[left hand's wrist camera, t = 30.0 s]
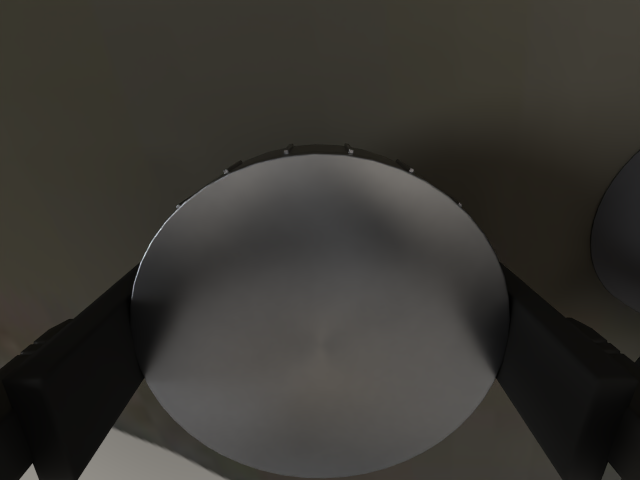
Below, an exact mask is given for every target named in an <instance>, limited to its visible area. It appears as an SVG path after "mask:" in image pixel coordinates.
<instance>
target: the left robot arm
mask: <svg viewBox="0 0 640 480" xmlns="http://www.w3.org/2000/svg"><path fill="white" fill-rule="evenodd" d="M499 263H500V262H499ZM139 265H140V263H139V264H138V265H136V266H135V267H134V268H133V269H132V270H131V271H129V272H128V273H127V274H126V275H125V276H123V277H122V278H121V279H120V280H119V281H118V282H116V283H115V284H114V285H113V286H112V287H111V288H109V289H108V290H107V291H106V292H105V293H103V294H102V295H101V296H100V297H99V298H98V299H96V300H95V301H94V302H93V303H92V304H91V305H89V306H88V307H87V308H86V309H85V310H84V311H82V312H81V313H80V314H79V315H78V316H76V317H75V318H74V319H68V320H66V321H64V322H63V323H61V324H59V325H57V326H55V327H53V328H51V329H49V330H48V331H47V332H45V333H44V334H43V335H42V336H40V337H39V338H38V339H37V340H35V341H34V344H31V345H29V346H28V347H27V348H26V349H24V350H23V351H22V352H21V355H17V356H16V357H15V358H13V359H12V360H11V361H10V362H8V363H7V364H6V365H5V366H3V367H2V368H1V369H0V480H19V479H20V478H21V477H22V476H23V474H24V473H25V472H26V471H27V469H28V468H29V467H30V466H31V464H32V463H33V465H34V468H35V470H36V473H37V475H38V478H39V480H78V478H79V477H80V475H81V474H82V472H83V471H84V469H85V468H86V466H87V465H88V463H89V462H90V460H91V459H92V457H93V455H94V454H95V452H96V451H97V449H98V448H99V446H100V445H101V443H102V442H103V440H104V439H105V437H106V436H107V434H108V433H109V431H110V429H111V428H112V426H113V425H114V423H115V422H116V420H117V419H118V417H119V416H120V414H121V413H122V411H123V410H124V408H125V407H126V405H127V404H128V402H129V400H130V399H131V397H132V396H133V394H134V393H135V391H136V390H137V388H138V387H139V385H140V384H141V382H142V381H143V379H144V378H145V377H144V375H143V373H142V371H141V369H140V366H139V363H138V360H137V357H136V353H135V349H134V344H133V339H132V334H131V329H130V304H131V297H132V291H133V284H134V281H135V278H136V274H137V271H138V268H139ZM500 266H501V269H502V271H503V274H504V277H505V282H506V286H507V291H508V296H509V309H510V325H509V335H508V341H507V346H506V350H505V354H504V358H503V361H502V364H501V366H500V369H499V371H498V373H497V376H496V379H497V380H498V382H499V383H500V385H501V386H502V388H503V389H504V391H505V392H506V394H507V395H508V397H509V399H510V400H511V402H512V403H513V405H514V406H515V408H516V409H517V411H518V412H519V414H520V415H521V417H522V418H523V420H524V421H525V423H526V425H527V426H528V428H529V429H530V431H531V432H532V434H533V435H534V437H535V438H536V440H537V441H538V443H539V444H540V446H541V447H542V449H543V451H544V452H545V454H546V455H547V457H548V458H549V460H550V461H551V463H552V464H553V466H554V467H555V469H556V470H557V472H558V473H559V475H560V476H561V478H562V480H601V479H602V476H603V474H604V471H605V468H606V466H607V463H608V462H609V463H610V465H611V466H612V467H613V468H614V469H615V471H616V472H617V473H618V474H619V476H620V477H621V478H622V479H621V480H640V367H639V366H638V365H637V364H635V363H634V362H633V361H632V360H630V359H629V358H628V357H627V356H626V355H624V354H621V353H620V351H619V350H618V349H617V348H616V347H614V346H613V345H612V344H611V343H607V340H606V339H604V338H603V337H602V336H601V335H599V334H598V333H597V332H596V331H595V330H593V329H592V328H590V327H588V326H586V325H584V324H582V323H581V322H579V321H577V320H575V319H573V318H565V317H564V316H563V315H561V314H560V313H559V312H558V311H557V310H556V309H554V308H553V307H552V306H551V305H550V304H549V303H547V302H546V301H545V300H544V299H543V298H541V297H540V296H539V295H538V294H537V293H536V292H534V291H533V290H532V289H531V288H530V287H529V286H527V285H526V284H525V283H524V282H523V281H521V280H520V279H519V278H518V277H517V276H516V275H514V274H513V273H512V272H511V271H510V270H509V269H507V268H506V267H505V266H504V265H503V264H502V263H500Z"/></svg>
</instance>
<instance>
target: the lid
mask: <svg viewBox="0 0 640 480" xmlns="http://www.w3.org/2000/svg"><path fill="white" fill-rule="evenodd" d="M413 171H414V169H412V168H411V167H409V166H407V165H406V164H404V163H403V162H401V161H400V160H397V161H396V162H394V161H392V160H390V159H388V158H386V157H384V156H381V155H378V154H374V153H371V152H368V151H365V150H362V149H356V148H351V147H350V145H349V144H345V146H339V145H316V144H315V145H304V146H294V147H293V144H289V146H288V147H287V148H284V149H280V150H275V151H271V152H268V153H265V154H262V155H260V156H257V157H254V158H252V159H249V160H247V161H245V162H243V163H242V161H241V160H240V161H238V162H237V163H235V164H234V165H232V166H230V167H229V168H227V169H226V170H224V174H222V175H221V176H219V177H218V178H216V179H215V180H213V181H212V182H210V183H209V184H207V185H206V186H204V187H203V188H202V189H200V190H199V191H198V192H196V193H195V194H193V195H192V196H190V197H189V198H187V199H186V200H184V201H183V202H181V203H180V204H178V205H177V206H176V207H177V209H176V211H175V212H174V213H173V214H172V215H171V216H170V217H169V218H168V219H167V220H166V221H165V222H164V224H163V225H162V226H161V228H160V229H159V230H158V232H157V233H156V235H155V236H154V237H153V239H152V240H151V242H150V244H149V246H148V248H147V250H146V252H145V254H144V256H143V258H142V260H141V262H140V265H139V268H138V271H137V274H136V278H135V281H134V284H133V291H132V297H131V304H130V329H131V334H132V339H133V344H134V349H135V353H136V357H137V360H138V363H139V366H140V369H141V371H142V373H143V375H144V377H145V380H146V382H147V384H148V386H149V388H150V389H151V391H152V392H153V394H154V395H155V397H156V398H157V400H158V401H159V403H160V404H161V405H162V406H163V408H164V409H165V410H166V411H167V412H168V413H169V415H170V416H171V417H172V418H173V419H174V420H175V421H176V422H177V423H178V424H179V425H180V426H181V427H183V428H184V429H185V430H186V431H187V432H188V433H189V434H190V435H192V436H193V437H195V438H196V439H197V440H199V441H200V442H202V443H203V444H204V445H206V446H207V447H209V448H211V449H213V450H214V451H216V452H218V453H220V454H222V455H223V456H225V457H228V458H230V459H232V460H235V461H237V462H239V463H241V464H244V465H247V466H250V467H253V468H256V469H259V470H263V471H267V472H272V473H276V474H281V475H287V476H295V477H304V478H333V477H346V476H353V475H359V474H365V473H369V472H373V471H377V470H381V469H385V468H387V467H390V466H393V465H396V464H398V463H401V462H404V461H406V460H408V459H410V458H412V457H414V456H416V455H419V454H421V453H423V452H424V451H426V450H428V449H429V448H431V447H432V446H434V445H436V444H437V443H439V442H440V441H442V440H443V439H444V438H446V437H447V436H448V435H449V434H451V433H452V432H453V431H454V430H456V429H457V428H458V427H459V426H460V425H461V424H462V423H463V422H464V421H465V420H466V419H467V418H468V417H469V416H470V415H471V414H472V413H473V411H474V410H475V409H476V408H477V406H478V405H479V404H480V403H481V401H482V400H483V399H484V397H485V396H486V394H487V392H488V391H489V389H490V387H491V385H492V384H493V382H494V380H495V378H496V376H497V373H498V371H499V369H500V366H501V364H502V361H503V358H504V354H505V350H506V346H507V341H508V335H509V325H510V309H509V296H508V291H507V286H506V282H505V277H504V274H503V271H502V269H501V266H500V263H499V261H498V258H497V256H496V253H495V252H494V250H493V248H492V246H491V245H490V243H489V241H488V240H487V238H486V236H485V234H484V233H483V232H482V230H481V229H480V228H479V227H478V225H477V224H476V223H475V222H474V220H473V219H472V218H471V217H470V216H469V214H468V213H467V212H466V211H465V210H463V209H462V208H461V206H462V204H461V203H459V202H458V201H456V200H455V199H453V198H452V197H450V196H449V195H447V194H446V193H444V192H443V191H441V190H440V189H438V188H436V187H435V186H433V185H432V184H430V183H429V182H427V181H426V180H424V179H423V178H421V177H420V176H418V175H417V174H415V173H414V172H413Z"/></svg>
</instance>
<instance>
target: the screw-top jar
mask: <svg viewBox="0 0 640 480" xmlns="http://www.w3.org/2000/svg"><path fill="white" fill-rule="evenodd" d="M591 254H592V261H593V264H594V268H595V271H596V273H597V275H598V277H599V279H600V281H601V282H602V284H603V285H604V287H605V288H606V289H607V290H608V291H609V292H610V293H611V294H612V295H613V296H614V297H616V298H617V299H619V300H620V301H621V302H623V303H624V304H626V305H628V306H629V307H631V308H632V309H634V310H635V311H637V312H638V313H640V151H639V152H637V153H636V154H635V155H634V156H633V157H632V158H631V160H630V161H629V162H628V163H627V164H626V165H625V166H624V167H623V168H622V170H621V171H620V172H619V174H618V175H617V176H616V177H615V179H614V180H613V182H612V183H611V185H610V187H609V188H608V190H607V191H606V193H605V195H604V197H603V199H602V201H601V203H600V206H599V208H598V211H597V214H596V217H595V220H594V224H593V229H592V234H591Z"/></svg>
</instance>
